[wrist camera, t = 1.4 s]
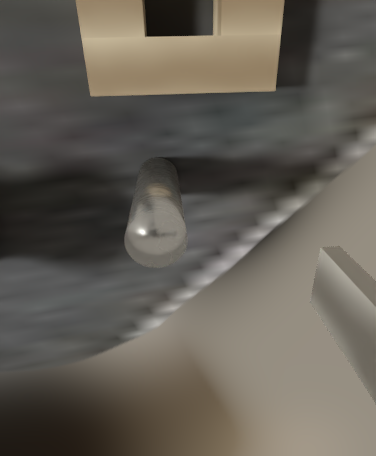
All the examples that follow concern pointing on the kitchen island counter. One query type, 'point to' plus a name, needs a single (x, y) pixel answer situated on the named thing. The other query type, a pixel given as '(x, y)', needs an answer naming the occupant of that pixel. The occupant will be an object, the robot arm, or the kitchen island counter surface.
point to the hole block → (180, 50)
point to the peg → (156, 216)
